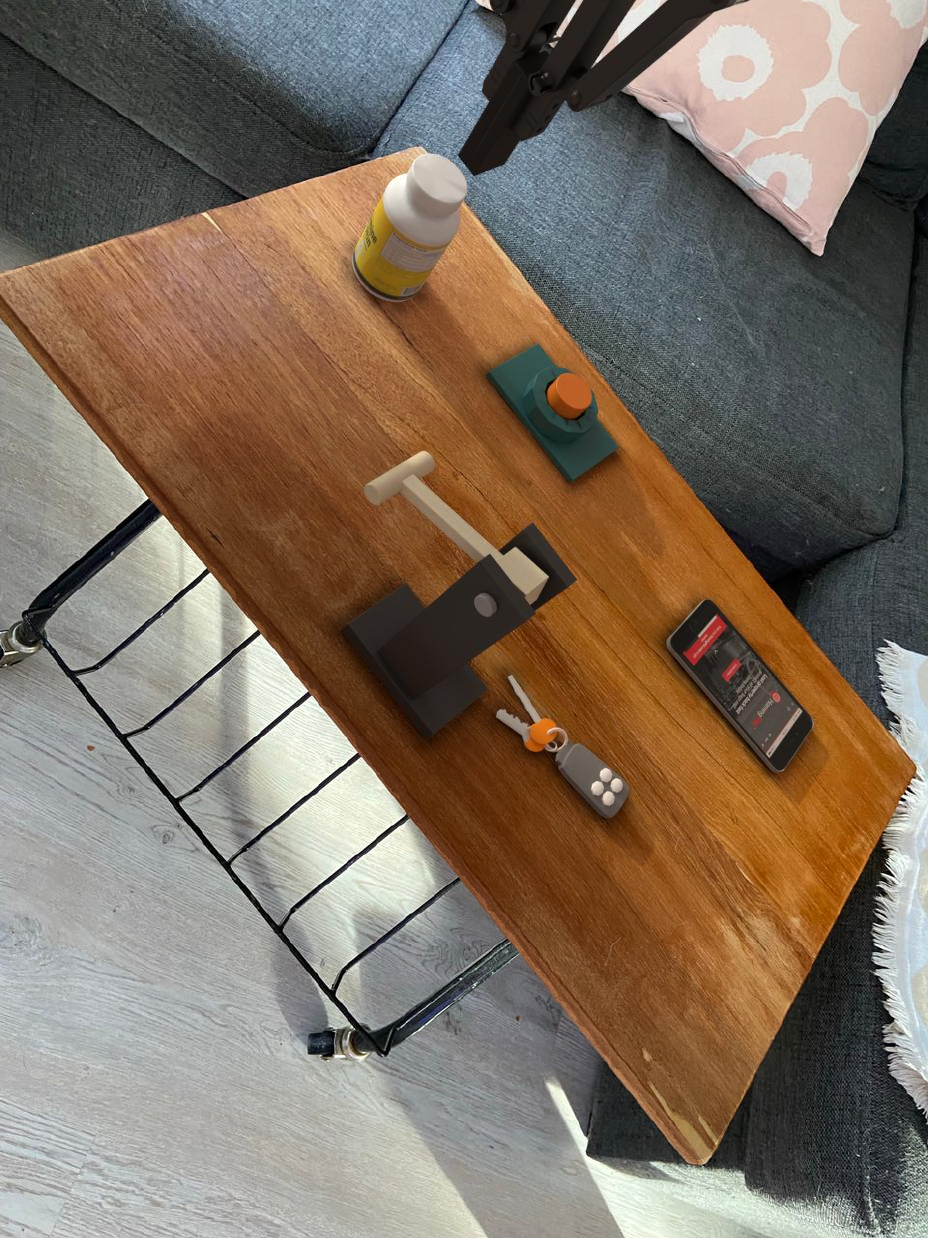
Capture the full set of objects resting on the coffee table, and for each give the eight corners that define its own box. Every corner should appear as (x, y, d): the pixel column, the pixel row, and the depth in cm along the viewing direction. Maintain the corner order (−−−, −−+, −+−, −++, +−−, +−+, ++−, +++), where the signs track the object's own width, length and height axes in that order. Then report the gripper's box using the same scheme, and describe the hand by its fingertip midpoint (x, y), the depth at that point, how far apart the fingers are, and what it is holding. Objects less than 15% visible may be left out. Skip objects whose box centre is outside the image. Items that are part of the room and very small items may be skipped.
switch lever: (360, 500, 61) (367, 474, 59) (415, 466, 64) (423, 440, 62) (499, 629, 58) (511, 606, 56) (551, 588, 61) (563, 565, 59)
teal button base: (485, 375, 86) (498, 359, 84) (534, 347, 90) (548, 330, 87) (569, 484, 86) (584, 470, 83) (615, 450, 89) (631, 437, 87)
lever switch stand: (340, 630, 71) (443, 526, 56) (398, 590, 74) (510, 481, 59) (425, 740, 71) (550, 664, 56) (479, 694, 74) (611, 612, 59)
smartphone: (708, 595, 87) (816, 722, 87) (703, 598, 88) (811, 725, 88) (666, 642, 83) (780, 775, 83) (661, 644, 84) (774, 777, 84)
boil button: (538, 392, 85) (548, 381, 83) (563, 377, 87) (574, 366, 85) (564, 425, 85) (574, 415, 83) (588, 409, 87) (599, 399, 85)
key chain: (626, 788, 77) (637, 784, 76) (604, 823, 75) (615, 820, 74) (508, 675, 76) (517, 669, 75) (482, 708, 74) (491, 702, 73)
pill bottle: (378, 230, 86) (432, 130, 76) (432, 283, 87) (493, 190, 77) (334, 264, 82) (385, 163, 73) (391, 318, 83) (449, 226, 73)
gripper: (603, -466, 34) (363, 82, 53) (835, -168, 34) (509, 271, 53) (716, -445, 38) (454, 56, 58) (923, -180, 38) (591, 231, 57)
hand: (481, 159), depth 55 cm, fingers closed
